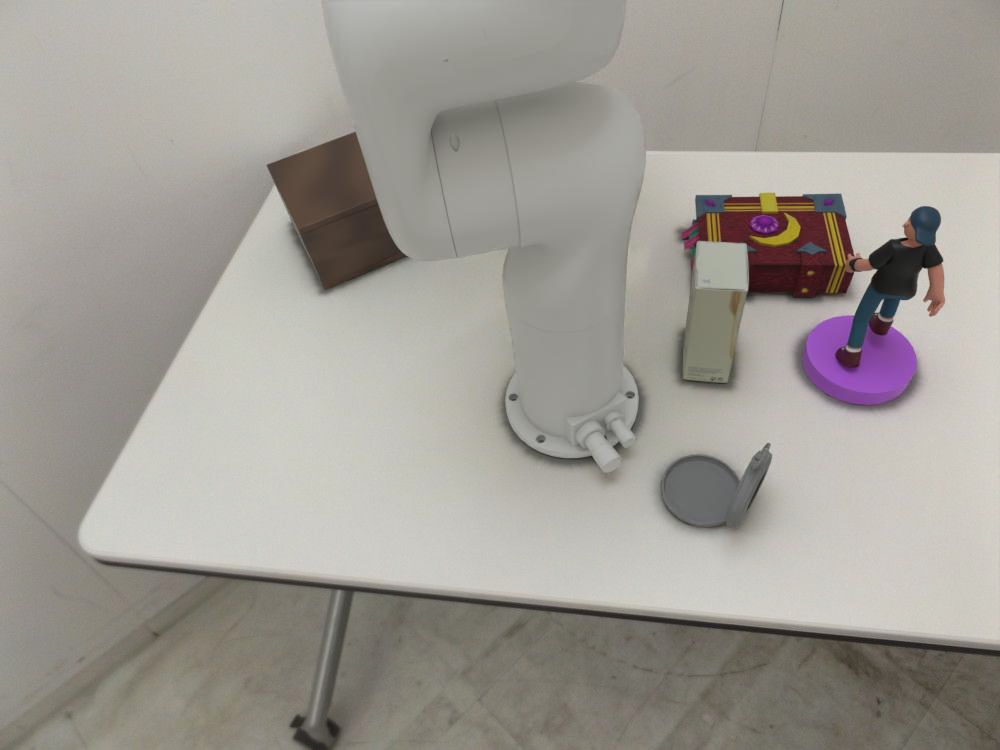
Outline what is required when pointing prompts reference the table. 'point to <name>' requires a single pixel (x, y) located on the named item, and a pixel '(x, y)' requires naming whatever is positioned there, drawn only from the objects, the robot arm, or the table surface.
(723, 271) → the cosmetic box
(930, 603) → the table surface
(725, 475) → the pocket watch
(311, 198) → the cabinet
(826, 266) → the decorative book
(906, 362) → the figurine
